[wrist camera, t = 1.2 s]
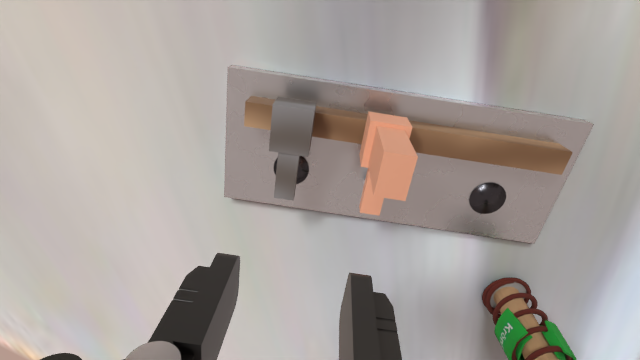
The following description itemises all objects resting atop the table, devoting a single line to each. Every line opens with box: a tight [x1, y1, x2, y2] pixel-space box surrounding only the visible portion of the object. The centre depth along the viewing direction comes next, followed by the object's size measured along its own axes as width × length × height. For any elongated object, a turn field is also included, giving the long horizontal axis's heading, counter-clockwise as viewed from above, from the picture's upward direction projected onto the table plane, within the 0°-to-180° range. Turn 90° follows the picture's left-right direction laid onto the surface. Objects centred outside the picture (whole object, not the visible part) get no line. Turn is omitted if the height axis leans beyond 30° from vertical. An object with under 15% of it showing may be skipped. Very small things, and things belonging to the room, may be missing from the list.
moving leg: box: [359, 111, 418, 216], centre depth 27 cm, size 8×3×9 cm, turn 172°
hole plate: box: [224, 65, 594, 243], centre depth 32 cm, size 12×30×1 cm, turn 82°
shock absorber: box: [482, 278, 576, 360], centre depth 32 cm, size 6×6×15 cm
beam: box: [244, 96, 573, 201], centre depth 29 cm, size 8×26×4 cm, turn 82°
